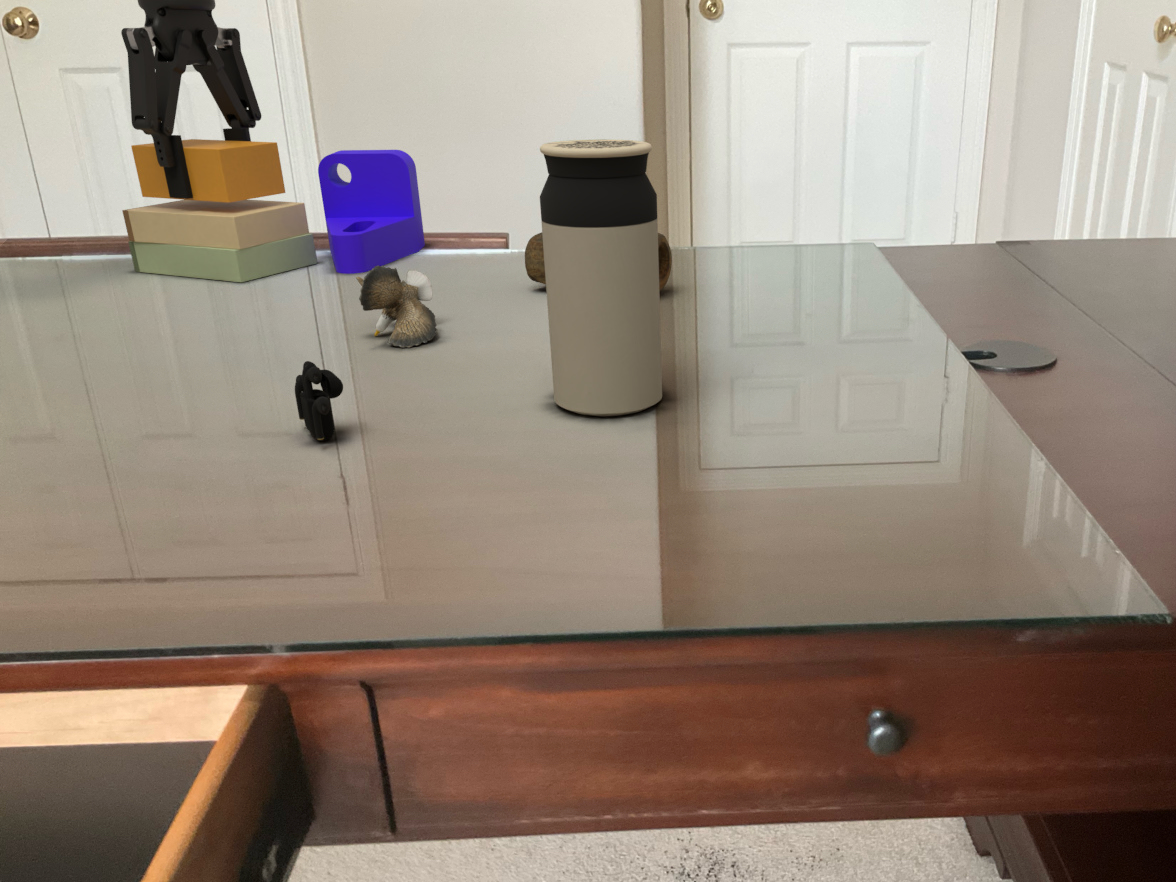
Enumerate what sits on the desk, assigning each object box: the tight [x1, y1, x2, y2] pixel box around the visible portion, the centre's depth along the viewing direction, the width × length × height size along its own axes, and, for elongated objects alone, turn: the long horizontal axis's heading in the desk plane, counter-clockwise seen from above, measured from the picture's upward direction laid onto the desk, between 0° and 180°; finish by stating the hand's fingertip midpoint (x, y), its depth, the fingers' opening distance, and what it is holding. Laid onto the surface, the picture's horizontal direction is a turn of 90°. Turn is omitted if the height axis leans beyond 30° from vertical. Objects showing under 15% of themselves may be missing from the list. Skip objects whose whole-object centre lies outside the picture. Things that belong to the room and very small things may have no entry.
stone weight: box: [524, 231, 673, 292], centre depth 113 cm, size 15×7×7 cm, turn 76°
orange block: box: [130, 138, 286, 203], centre depth 122 cm, size 13×8×6 cm, turn 67°
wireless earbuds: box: [294, 360, 344, 442], centre depth 72 cm, size 7×2×5 cm, turn 32°
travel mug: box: [539, 138, 663, 417], centre depth 76 cm, size 8×8×18 cm
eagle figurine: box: [355, 266, 438, 349], centre depth 97 cm, size 8×7×9 cm
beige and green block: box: [122, 199, 318, 283], centre depth 125 cm, size 16×12×7 cm
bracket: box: [317, 149, 426, 275], centre depth 129 cm, size 18×11×12 cm, turn 4°
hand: (214, 192), depth 123 cm, fingers closed on orange block, 8 cm apart
